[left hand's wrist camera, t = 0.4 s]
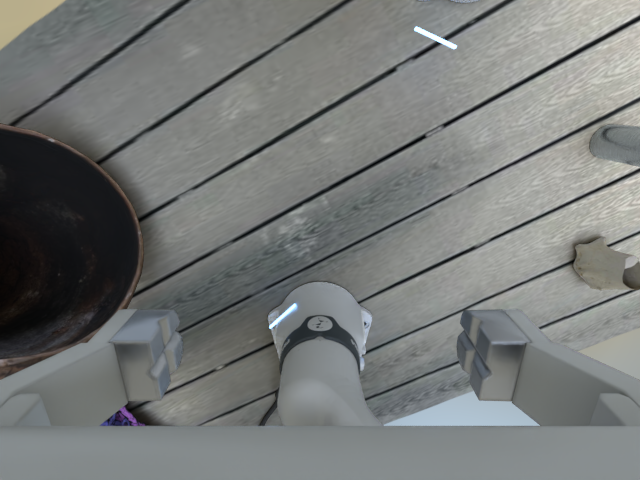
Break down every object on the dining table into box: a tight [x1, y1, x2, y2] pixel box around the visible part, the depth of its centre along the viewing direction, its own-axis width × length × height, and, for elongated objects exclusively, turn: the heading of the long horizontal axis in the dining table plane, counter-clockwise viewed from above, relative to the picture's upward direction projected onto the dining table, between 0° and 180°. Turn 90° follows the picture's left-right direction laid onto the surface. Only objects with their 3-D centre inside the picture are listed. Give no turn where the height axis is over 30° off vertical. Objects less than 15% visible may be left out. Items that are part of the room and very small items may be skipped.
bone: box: [573, 237, 640, 291], centre depth 58 cm, size 9×8×10 cm
